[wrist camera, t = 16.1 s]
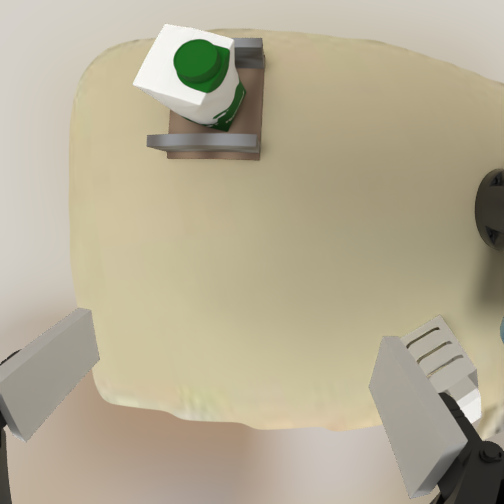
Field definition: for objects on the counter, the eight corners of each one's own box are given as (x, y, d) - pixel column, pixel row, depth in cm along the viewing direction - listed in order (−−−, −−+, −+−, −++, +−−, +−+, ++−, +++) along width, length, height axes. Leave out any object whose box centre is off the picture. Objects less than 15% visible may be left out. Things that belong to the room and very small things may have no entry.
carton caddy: (264, 57, 40) (262, 32, 31) (259, 160, 44) (255, 154, 35) (177, 59, 41) (159, 38, 32) (169, 158, 45) (146, 154, 36)
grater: (405, 380, 50) (443, 448, 31) (392, 342, 49) (436, 412, 29) (448, 354, 49) (497, 412, 29) (439, 314, 47) (498, 370, 28)
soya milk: (230, 140, 42) (197, 108, 23) (177, 119, 42) (113, 83, 23) (255, 88, 40) (240, 25, 21) (201, 70, 40) (155, 8, 21)
